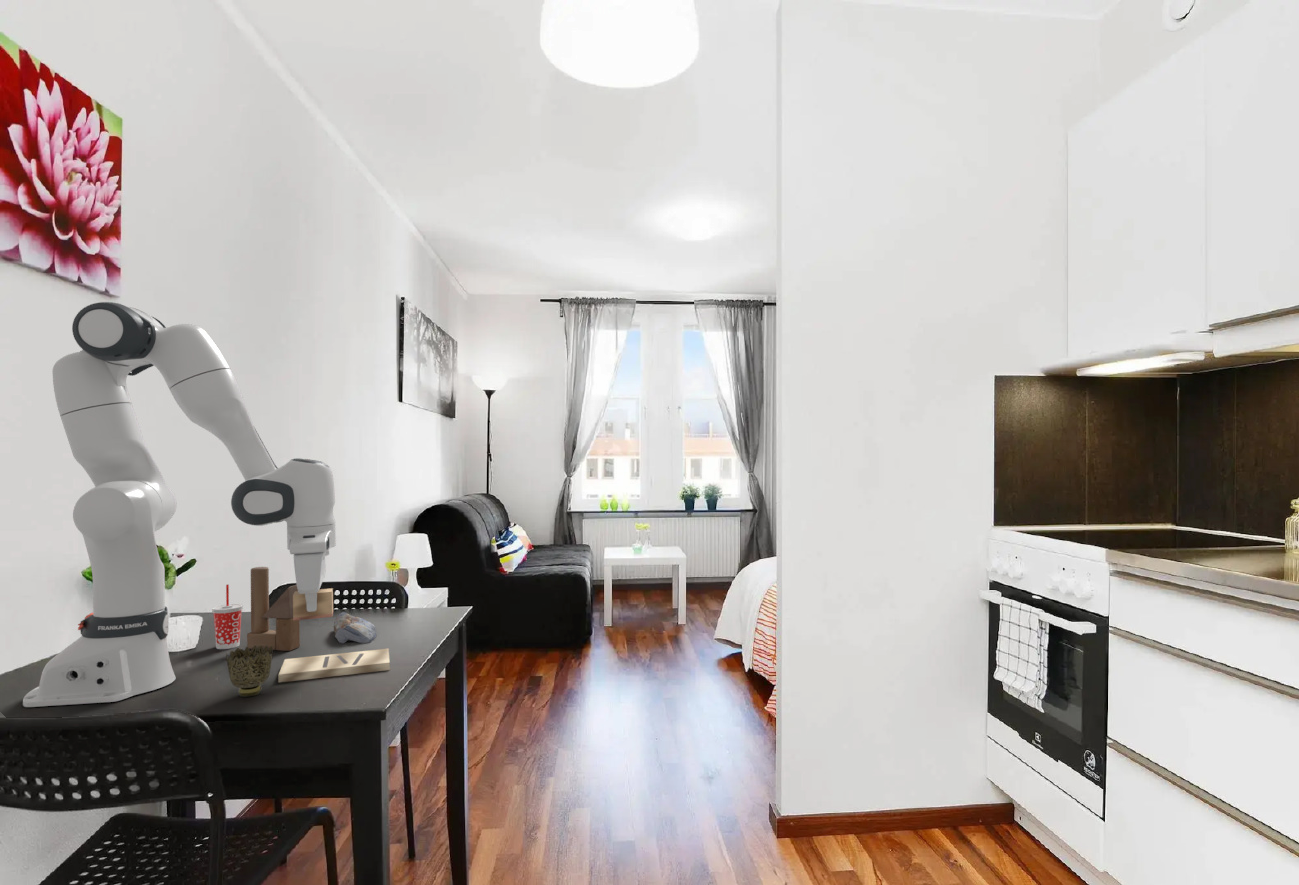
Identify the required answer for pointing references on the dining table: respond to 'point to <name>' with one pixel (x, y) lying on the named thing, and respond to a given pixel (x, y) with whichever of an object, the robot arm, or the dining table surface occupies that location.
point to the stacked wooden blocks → (271, 615)
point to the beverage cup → (227, 624)
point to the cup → (249, 669)
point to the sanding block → (322, 605)
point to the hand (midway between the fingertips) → (313, 608)
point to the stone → (353, 629)
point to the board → (334, 665)
